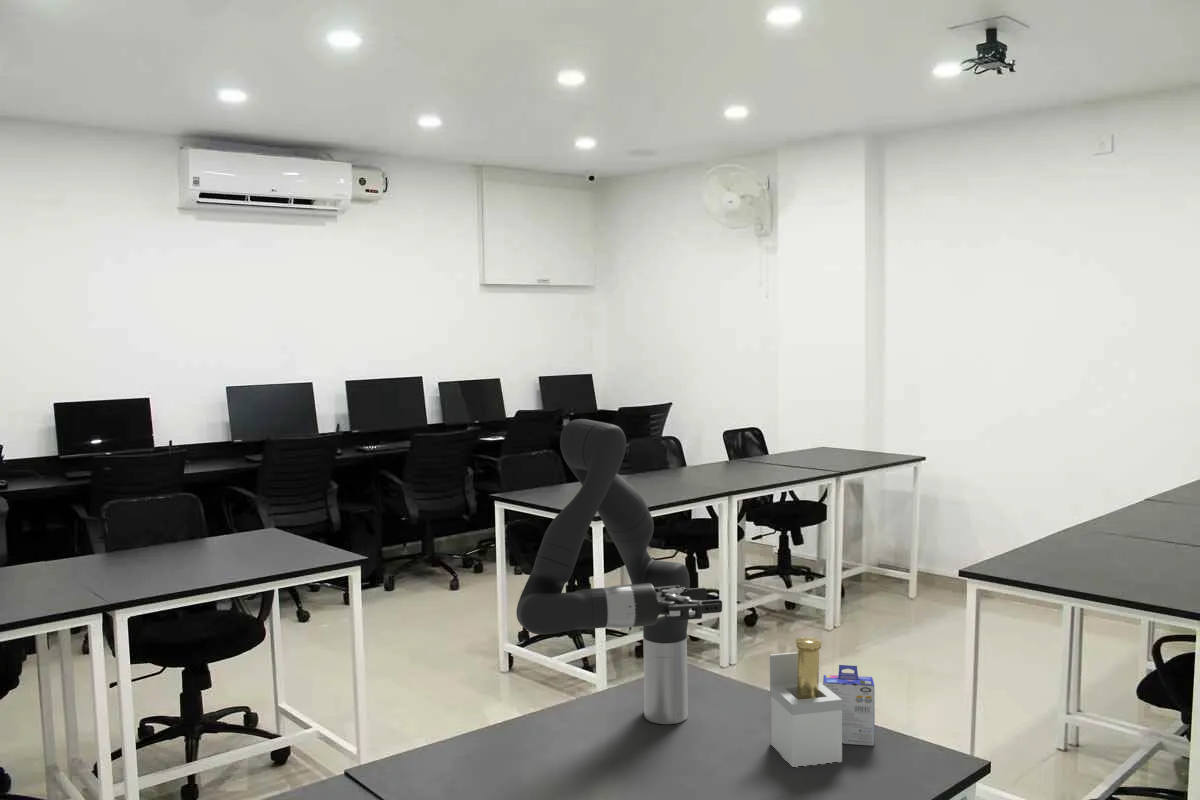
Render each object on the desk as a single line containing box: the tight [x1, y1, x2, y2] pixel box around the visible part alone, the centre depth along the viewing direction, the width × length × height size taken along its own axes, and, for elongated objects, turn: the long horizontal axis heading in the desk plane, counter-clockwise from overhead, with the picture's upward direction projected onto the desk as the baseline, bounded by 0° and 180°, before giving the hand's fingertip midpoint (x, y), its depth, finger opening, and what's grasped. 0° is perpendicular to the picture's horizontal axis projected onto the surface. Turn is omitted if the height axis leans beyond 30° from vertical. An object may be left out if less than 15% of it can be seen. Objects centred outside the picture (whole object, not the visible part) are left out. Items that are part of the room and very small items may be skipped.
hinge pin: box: [795, 636, 822, 700], centre depth 178 cm, size 5×5×12 cm
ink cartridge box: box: [822, 664, 876, 747], centre depth 184 cm, size 10×6×14 cm, turn 78°
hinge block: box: [769, 651, 843, 768], centre depth 178 cm, size 11×10×18 cm
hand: (713, 599), depth 171 cm, fingers open, 8 cm apart
